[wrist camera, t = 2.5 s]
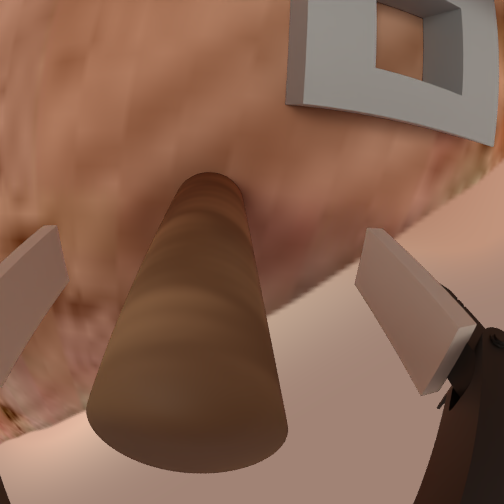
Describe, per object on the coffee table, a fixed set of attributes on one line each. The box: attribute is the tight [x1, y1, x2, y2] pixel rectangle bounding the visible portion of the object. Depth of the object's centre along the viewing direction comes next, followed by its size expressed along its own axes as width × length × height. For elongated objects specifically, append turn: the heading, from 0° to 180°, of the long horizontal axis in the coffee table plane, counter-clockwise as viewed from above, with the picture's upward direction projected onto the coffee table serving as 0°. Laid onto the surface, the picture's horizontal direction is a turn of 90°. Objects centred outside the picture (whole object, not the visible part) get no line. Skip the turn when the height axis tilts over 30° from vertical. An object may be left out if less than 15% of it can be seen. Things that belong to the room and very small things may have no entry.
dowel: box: [86, 172, 288, 473], centre depth 11 cm, size 4×4×14 cm
